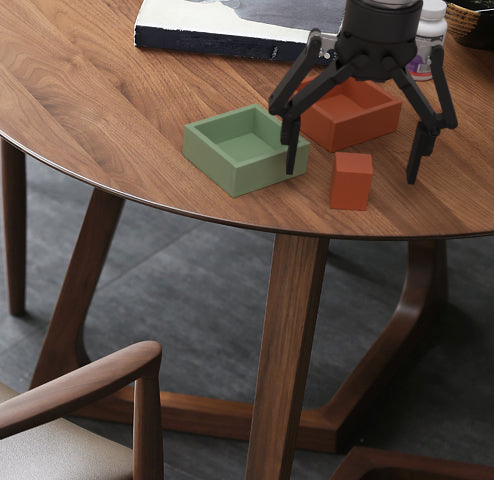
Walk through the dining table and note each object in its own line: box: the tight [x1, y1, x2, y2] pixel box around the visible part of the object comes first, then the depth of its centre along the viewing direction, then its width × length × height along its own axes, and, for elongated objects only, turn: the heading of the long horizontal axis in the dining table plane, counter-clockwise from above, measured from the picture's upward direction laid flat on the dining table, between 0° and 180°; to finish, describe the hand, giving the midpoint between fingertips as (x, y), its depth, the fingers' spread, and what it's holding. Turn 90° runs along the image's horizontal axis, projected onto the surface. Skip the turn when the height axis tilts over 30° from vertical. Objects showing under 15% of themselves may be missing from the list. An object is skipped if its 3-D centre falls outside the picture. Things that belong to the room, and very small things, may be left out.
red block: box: [328, 151, 374, 212], centre depth 122 cm, size 4×4×5 cm
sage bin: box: [182, 102, 311, 199], centre depth 128 cm, size 11×11×4 cm
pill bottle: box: [406, 0, 448, 82], centre depth 143 cm, size 5×5×10 cm
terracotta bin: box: [290, 73, 403, 154], centre depth 135 cm, size 11×11×4 cm
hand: (349, 173), depth 122 cm, fingers open, 13 cm apart
